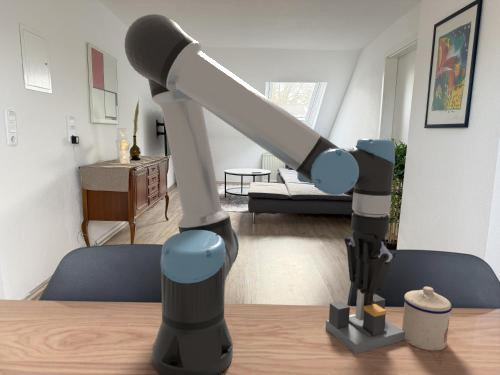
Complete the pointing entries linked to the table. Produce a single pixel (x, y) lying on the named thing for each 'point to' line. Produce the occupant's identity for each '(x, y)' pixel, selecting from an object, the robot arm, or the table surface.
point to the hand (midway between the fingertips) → (362, 317)
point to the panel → (360, 328)
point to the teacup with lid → (426, 319)
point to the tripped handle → (374, 319)
